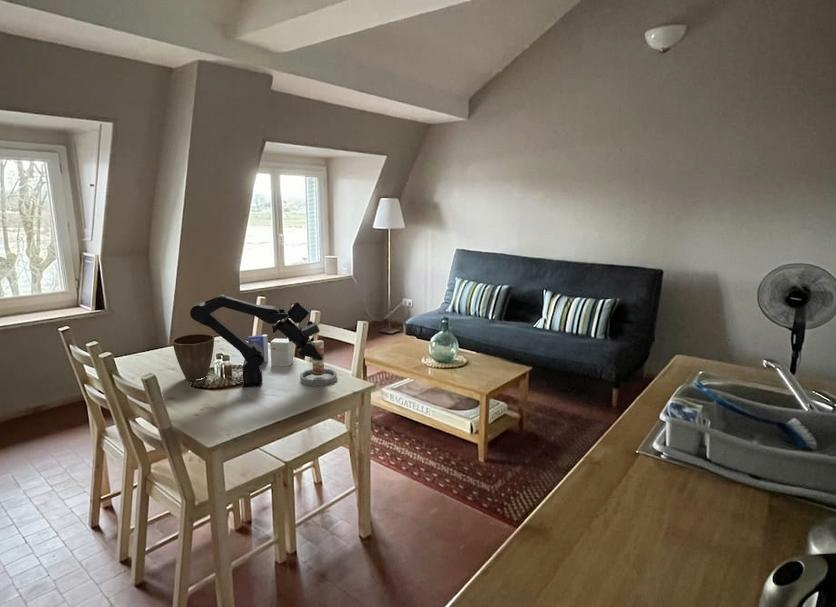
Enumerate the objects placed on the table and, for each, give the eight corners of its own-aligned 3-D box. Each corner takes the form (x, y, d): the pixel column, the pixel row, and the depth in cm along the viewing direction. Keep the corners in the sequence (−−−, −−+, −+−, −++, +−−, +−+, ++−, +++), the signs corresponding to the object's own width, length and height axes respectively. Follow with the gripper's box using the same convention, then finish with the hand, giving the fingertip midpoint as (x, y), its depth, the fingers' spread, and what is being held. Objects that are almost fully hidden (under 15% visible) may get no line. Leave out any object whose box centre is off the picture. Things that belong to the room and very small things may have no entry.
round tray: (300, 386, 186) (299, 381, 186) (300, 373, 199) (300, 369, 199) (337, 384, 189) (337, 379, 188) (335, 372, 202) (335, 367, 202)
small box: (293, 362, 213) (292, 338, 211) (289, 366, 208) (288, 342, 206) (275, 361, 214) (274, 338, 212) (270, 365, 209) (269, 341, 206)
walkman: (250, 364, 210) (248, 337, 207) (249, 362, 212) (247, 335, 210) (269, 361, 213) (268, 335, 211) (268, 359, 216) (266, 333, 213)
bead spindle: (315, 376, 190) (314, 344, 188) (310, 372, 194) (309, 341, 191) (326, 374, 193) (326, 342, 190) (321, 370, 197) (320, 339, 194)
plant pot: (177, 373, 197) (174, 335, 194) (217, 369, 202) (214, 332, 199) (173, 387, 183) (170, 346, 180) (216, 382, 189) (213, 342, 185)
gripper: (307, 322, 179) (338, 349, 184) (305, 311, 197) (334, 336, 202) (285, 344, 179) (317, 371, 184) (286, 330, 196) (314, 355, 201)
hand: (321, 357), depth 193 cm, fingers closed on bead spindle, 4 cm apart
